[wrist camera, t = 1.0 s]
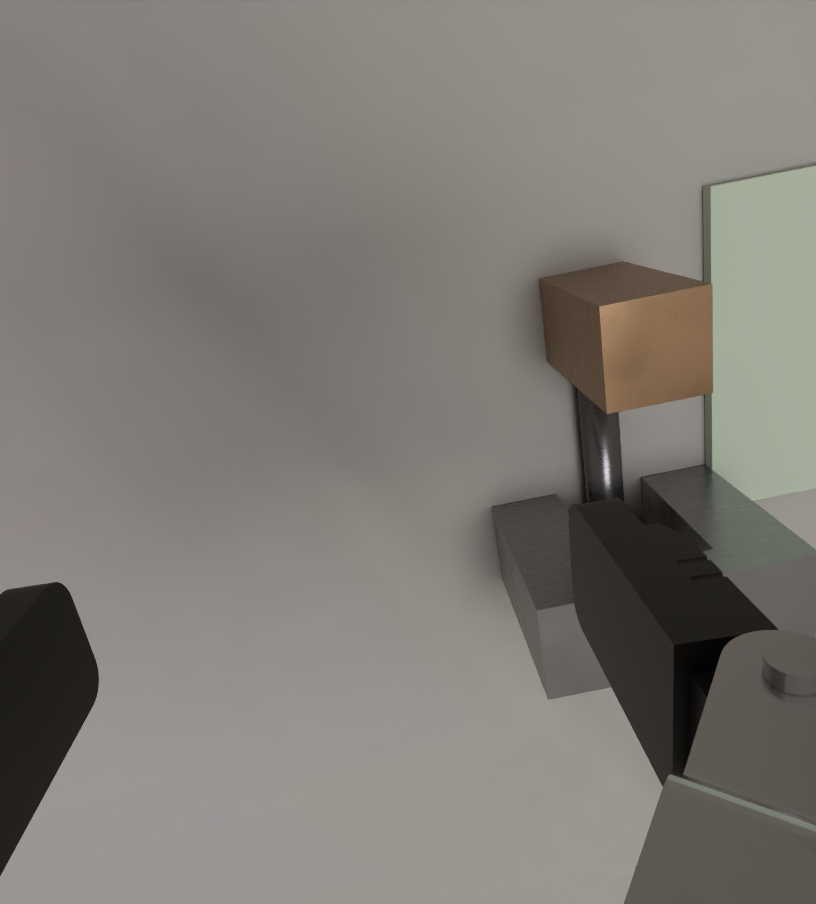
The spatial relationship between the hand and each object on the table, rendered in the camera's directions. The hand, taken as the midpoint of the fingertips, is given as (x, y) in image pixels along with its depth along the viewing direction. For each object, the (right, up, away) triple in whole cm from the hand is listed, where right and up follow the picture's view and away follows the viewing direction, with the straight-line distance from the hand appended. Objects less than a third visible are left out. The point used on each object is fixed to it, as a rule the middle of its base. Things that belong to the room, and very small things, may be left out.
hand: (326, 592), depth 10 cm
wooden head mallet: (+10, +2, +19) cm, 22 cm away
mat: (+19, +7, +18) cm, 27 cm away
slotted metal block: (+10, -1, +20) cm, 23 cm away
